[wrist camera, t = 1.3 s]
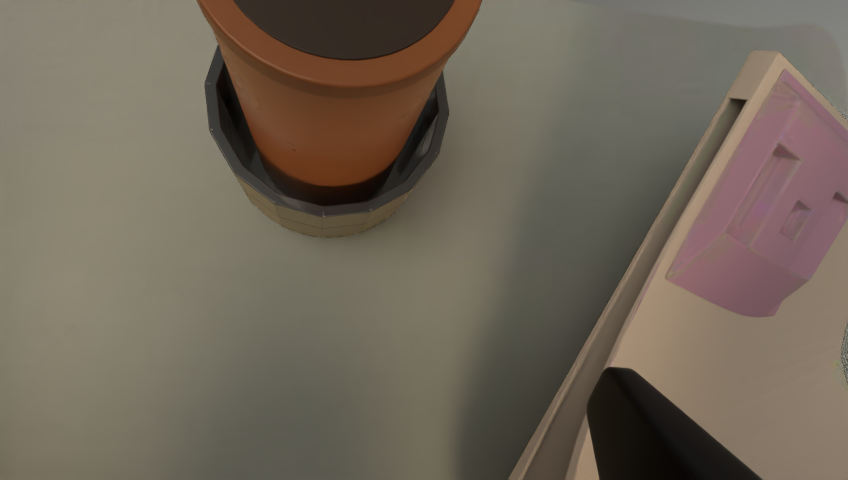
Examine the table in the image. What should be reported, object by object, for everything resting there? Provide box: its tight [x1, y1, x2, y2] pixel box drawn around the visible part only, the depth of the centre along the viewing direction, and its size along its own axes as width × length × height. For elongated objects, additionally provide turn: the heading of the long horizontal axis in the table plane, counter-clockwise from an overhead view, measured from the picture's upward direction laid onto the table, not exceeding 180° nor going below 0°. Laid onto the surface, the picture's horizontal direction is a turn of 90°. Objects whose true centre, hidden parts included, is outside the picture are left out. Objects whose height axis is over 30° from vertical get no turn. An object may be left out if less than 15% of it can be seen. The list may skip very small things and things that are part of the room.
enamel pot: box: [205, 45, 449, 238], centre depth 20 cm, size 8×8×5 cm
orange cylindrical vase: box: [196, 0, 482, 206], centre depth 16 cm, size 6×6×12 cm
